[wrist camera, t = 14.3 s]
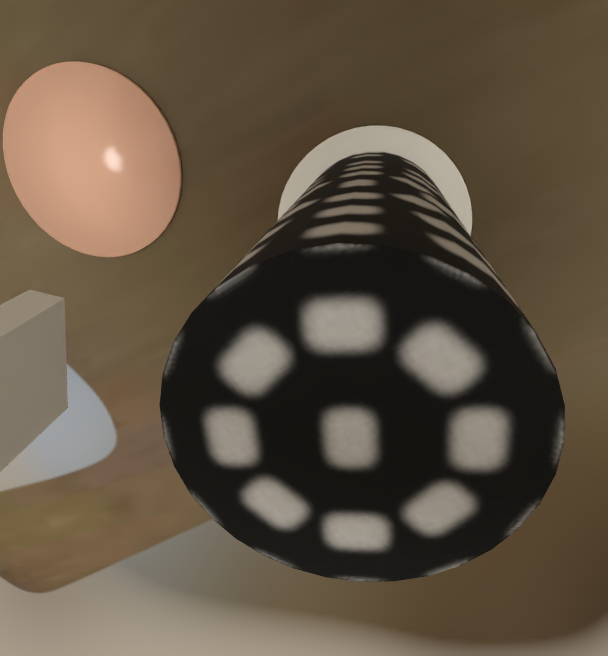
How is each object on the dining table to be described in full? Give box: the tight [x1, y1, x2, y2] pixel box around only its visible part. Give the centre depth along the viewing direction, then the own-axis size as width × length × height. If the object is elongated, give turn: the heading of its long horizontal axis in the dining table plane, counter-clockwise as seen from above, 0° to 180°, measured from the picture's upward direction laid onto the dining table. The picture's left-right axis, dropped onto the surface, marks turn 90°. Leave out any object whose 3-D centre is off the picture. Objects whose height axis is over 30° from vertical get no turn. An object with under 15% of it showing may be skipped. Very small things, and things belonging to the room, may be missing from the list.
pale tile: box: [278, 125, 472, 236], centre depth 29 cm, size 11×11×1 cm
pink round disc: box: [3, 62, 182, 257], centre depth 30 cm, size 11×11×1 cm
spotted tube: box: [160, 152, 565, 582], centre depth 19 cm, size 8×8×20 cm
